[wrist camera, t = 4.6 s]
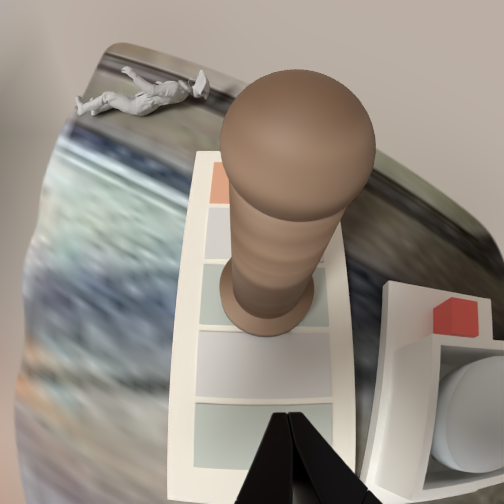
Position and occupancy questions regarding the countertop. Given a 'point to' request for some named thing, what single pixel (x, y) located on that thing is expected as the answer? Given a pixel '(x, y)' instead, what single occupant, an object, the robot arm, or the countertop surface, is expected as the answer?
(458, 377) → the dome
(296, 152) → the pawn
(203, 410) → the game track
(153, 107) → the soldier figure
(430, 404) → the base
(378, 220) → the countertop surface
